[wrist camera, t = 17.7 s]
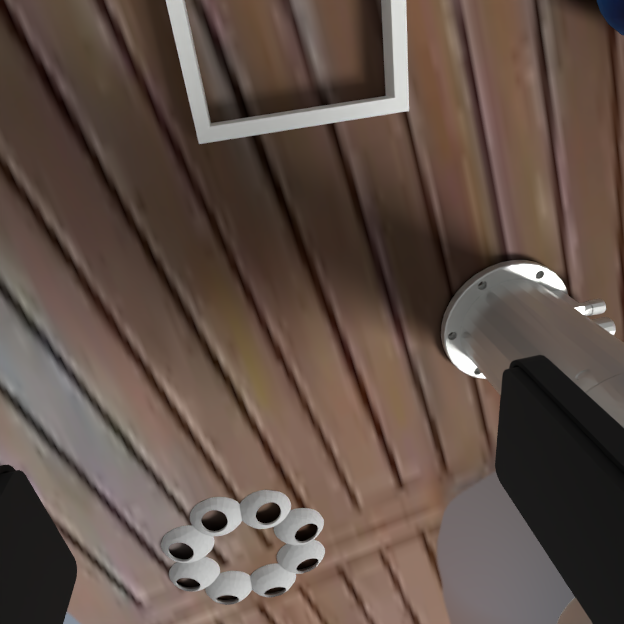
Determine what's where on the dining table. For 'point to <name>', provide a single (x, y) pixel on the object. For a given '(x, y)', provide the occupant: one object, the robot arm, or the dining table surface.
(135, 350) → the dining table surface
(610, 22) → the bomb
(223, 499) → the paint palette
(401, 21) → the white square frame
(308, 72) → the dining table surface
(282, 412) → the dining table surface
